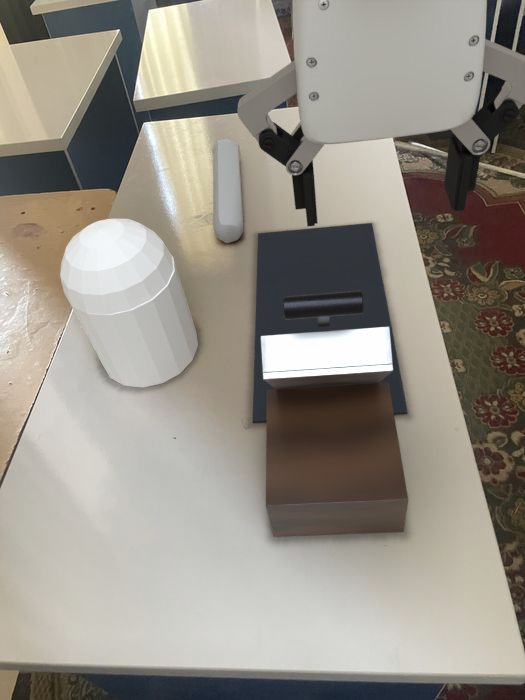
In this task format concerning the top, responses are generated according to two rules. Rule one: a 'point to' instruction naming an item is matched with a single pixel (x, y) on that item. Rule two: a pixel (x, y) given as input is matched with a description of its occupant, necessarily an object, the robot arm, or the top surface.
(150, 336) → the container
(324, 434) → the stand
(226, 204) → the tube
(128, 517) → the top surface
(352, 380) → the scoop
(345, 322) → the mat
